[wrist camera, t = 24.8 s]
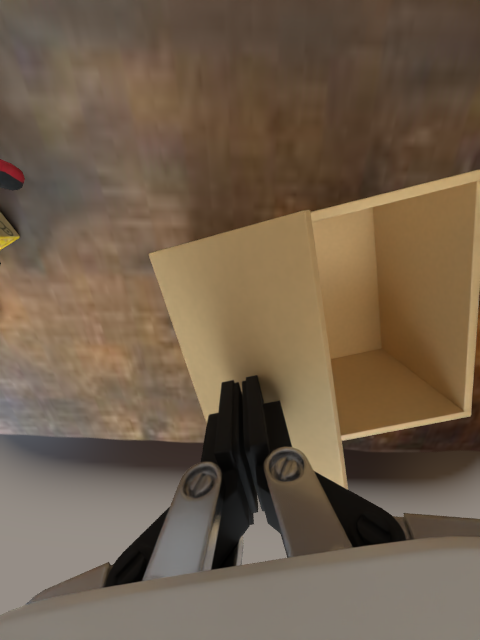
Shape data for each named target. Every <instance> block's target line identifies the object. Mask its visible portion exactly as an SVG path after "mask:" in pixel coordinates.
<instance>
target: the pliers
mask: <svg viewBox="0 0 480 640" xmlns="http://www.w3.org/2000/svg"><path fill="white" fill-rule="evenodd" d="M24 180H25V178H24V175H23V173H22V171H21V170H20V169H18V168H17V167H15V166H14V165H12V164H11V163H8V162H6V161H4V160H1V159H0V188H5V189H9V190H18V189H20V188H22V186H23V183H24ZM0 264H1V263H0Z"/></svg>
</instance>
